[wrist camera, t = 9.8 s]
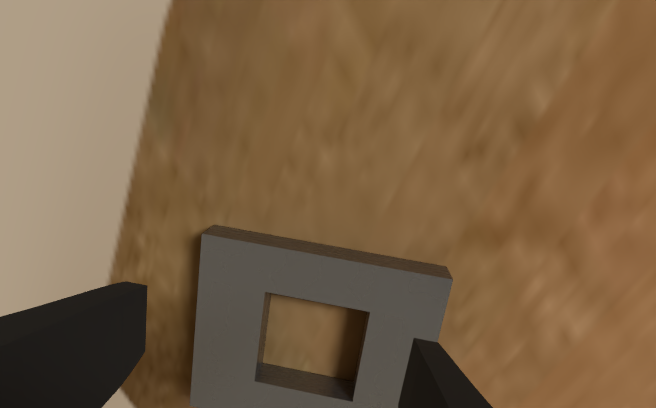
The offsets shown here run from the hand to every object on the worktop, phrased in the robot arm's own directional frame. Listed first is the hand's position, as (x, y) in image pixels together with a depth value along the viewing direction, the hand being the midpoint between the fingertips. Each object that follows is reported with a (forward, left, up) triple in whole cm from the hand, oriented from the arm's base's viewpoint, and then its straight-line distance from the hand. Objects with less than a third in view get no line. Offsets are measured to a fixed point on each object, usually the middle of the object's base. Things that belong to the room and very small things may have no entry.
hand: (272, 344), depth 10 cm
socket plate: (-6, -1, -9) cm, 11 cm away
